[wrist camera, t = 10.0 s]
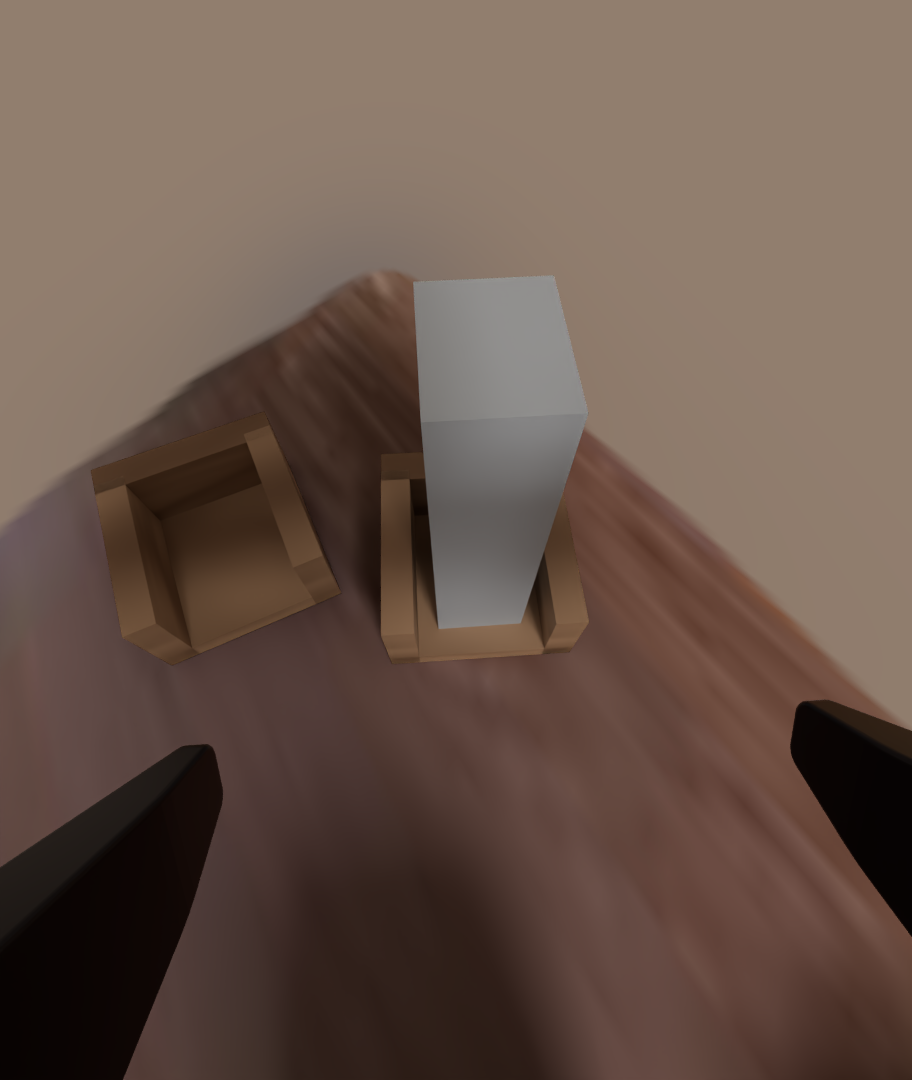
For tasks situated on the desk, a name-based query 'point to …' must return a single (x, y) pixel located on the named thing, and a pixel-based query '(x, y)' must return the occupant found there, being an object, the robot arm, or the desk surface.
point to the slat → (493, 437)
